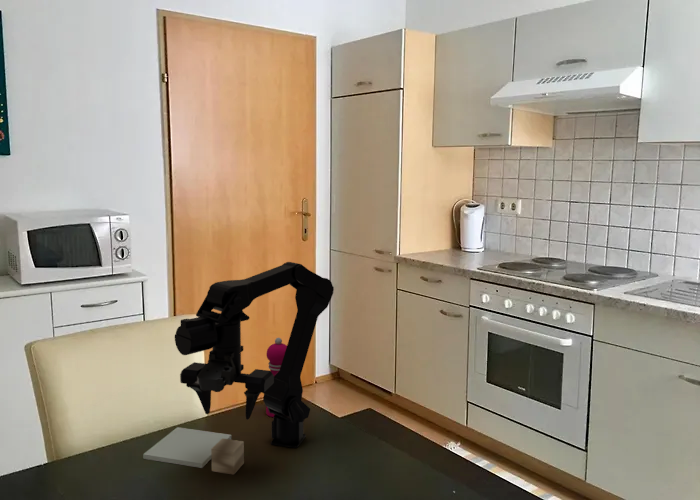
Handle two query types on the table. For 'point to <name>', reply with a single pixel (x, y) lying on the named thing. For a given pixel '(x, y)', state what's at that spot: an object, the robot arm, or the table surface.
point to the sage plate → (185, 447)
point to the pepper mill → (275, 360)
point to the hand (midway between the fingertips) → (227, 416)
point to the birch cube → (227, 456)
